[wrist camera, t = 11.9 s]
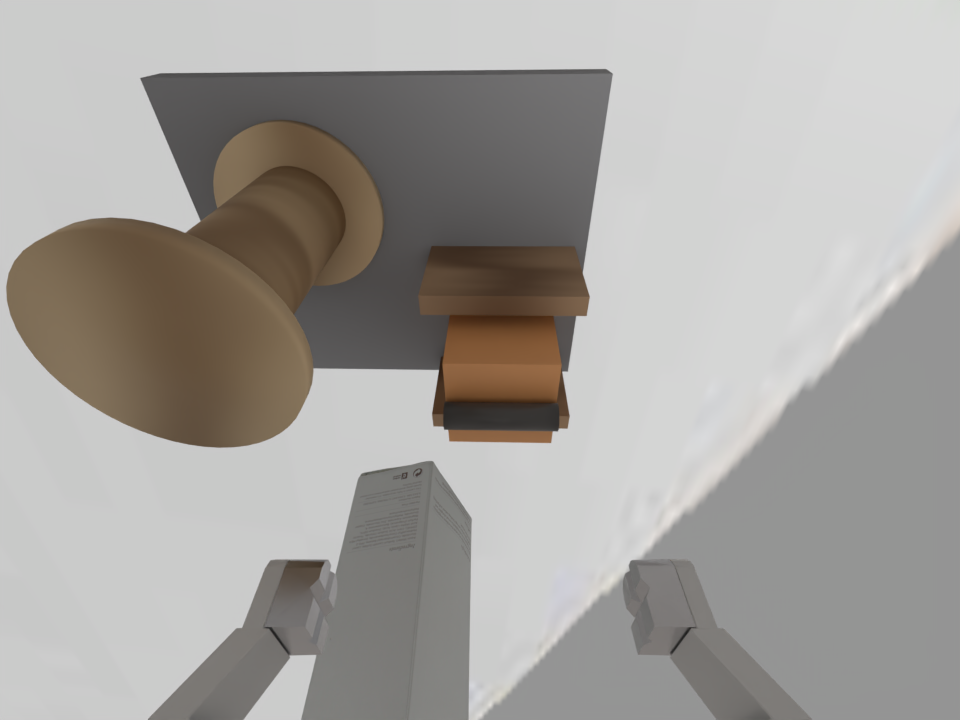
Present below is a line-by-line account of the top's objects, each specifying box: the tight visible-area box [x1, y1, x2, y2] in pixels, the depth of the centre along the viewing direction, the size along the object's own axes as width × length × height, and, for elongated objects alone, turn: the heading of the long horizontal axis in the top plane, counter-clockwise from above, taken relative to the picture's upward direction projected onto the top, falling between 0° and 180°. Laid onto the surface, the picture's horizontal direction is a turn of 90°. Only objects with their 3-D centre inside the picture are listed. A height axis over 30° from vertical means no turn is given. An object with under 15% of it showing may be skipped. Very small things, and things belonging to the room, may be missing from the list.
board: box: [140, 69, 613, 372], centre depth 19 cm, size 16×13×1 cm
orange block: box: [442, 315, 562, 443], centre depth 18 cm, size 4×4×7 cm
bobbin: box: [6, 120, 384, 448], centre depth 14 cm, size 6×6×10 cm
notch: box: [418, 246, 590, 429], centre depth 19 cm, size 6×7×4 cm
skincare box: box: [301, 461, 472, 720], centre depth 27 cm, size 8×6×15 cm
